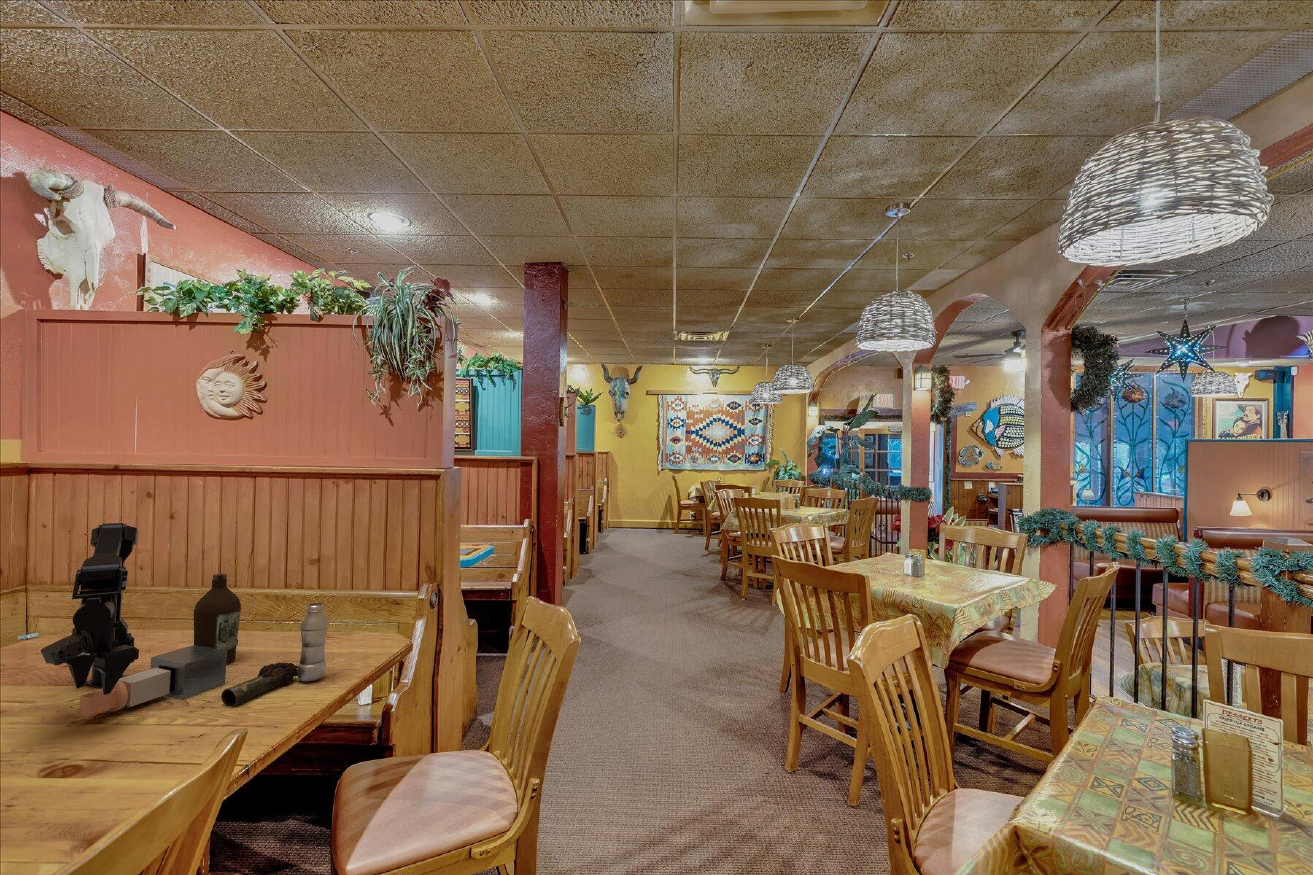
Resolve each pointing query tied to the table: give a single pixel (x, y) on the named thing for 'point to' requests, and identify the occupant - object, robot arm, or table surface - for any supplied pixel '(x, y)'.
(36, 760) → the table surface
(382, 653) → the table surface
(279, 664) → the metal pipe
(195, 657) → the housing
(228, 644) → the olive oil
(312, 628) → the plastic bottle
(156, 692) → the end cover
